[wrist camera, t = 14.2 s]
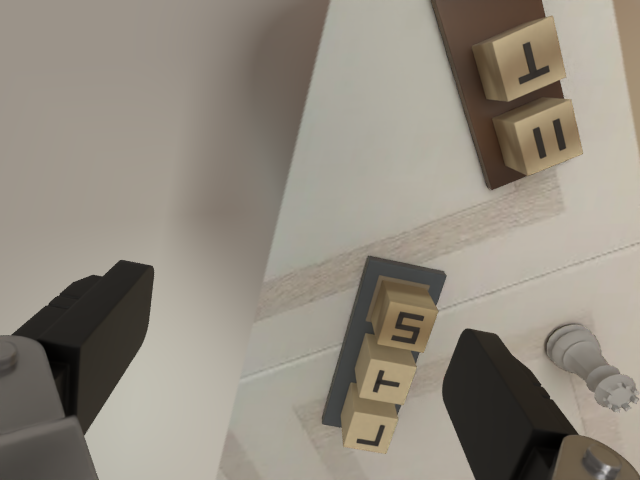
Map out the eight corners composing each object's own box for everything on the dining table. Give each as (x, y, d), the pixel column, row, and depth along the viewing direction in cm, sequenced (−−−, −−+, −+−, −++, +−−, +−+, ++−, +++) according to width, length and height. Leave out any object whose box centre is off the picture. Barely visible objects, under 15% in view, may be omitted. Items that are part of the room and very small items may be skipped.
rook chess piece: (535, 354, 43) (583, 413, 35) (559, 315, 41) (614, 368, 34) (574, 367, 43) (630, 428, 36) (600, 330, 42) (663, 385, 34)
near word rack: (417, -44, 31) (436, -66, 26) (514, -90, 30) (552, -121, 26) (487, 187, 37) (513, 203, 32) (570, 154, 36) (610, 165, 31)
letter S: (382, 279, 39) (390, 301, 35) (426, 288, 39) (439, 311, 35) (370, 319, 40) (376, 345, 36) (413, 327, 40) (424, 353, 36)
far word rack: (367, 255, 39) (375, 280, 34) (444, 271, 40) (462, 297, 35) (321, 417, 45) (323, 458, 40) (388, 428, 45) (397, 470, 41)
